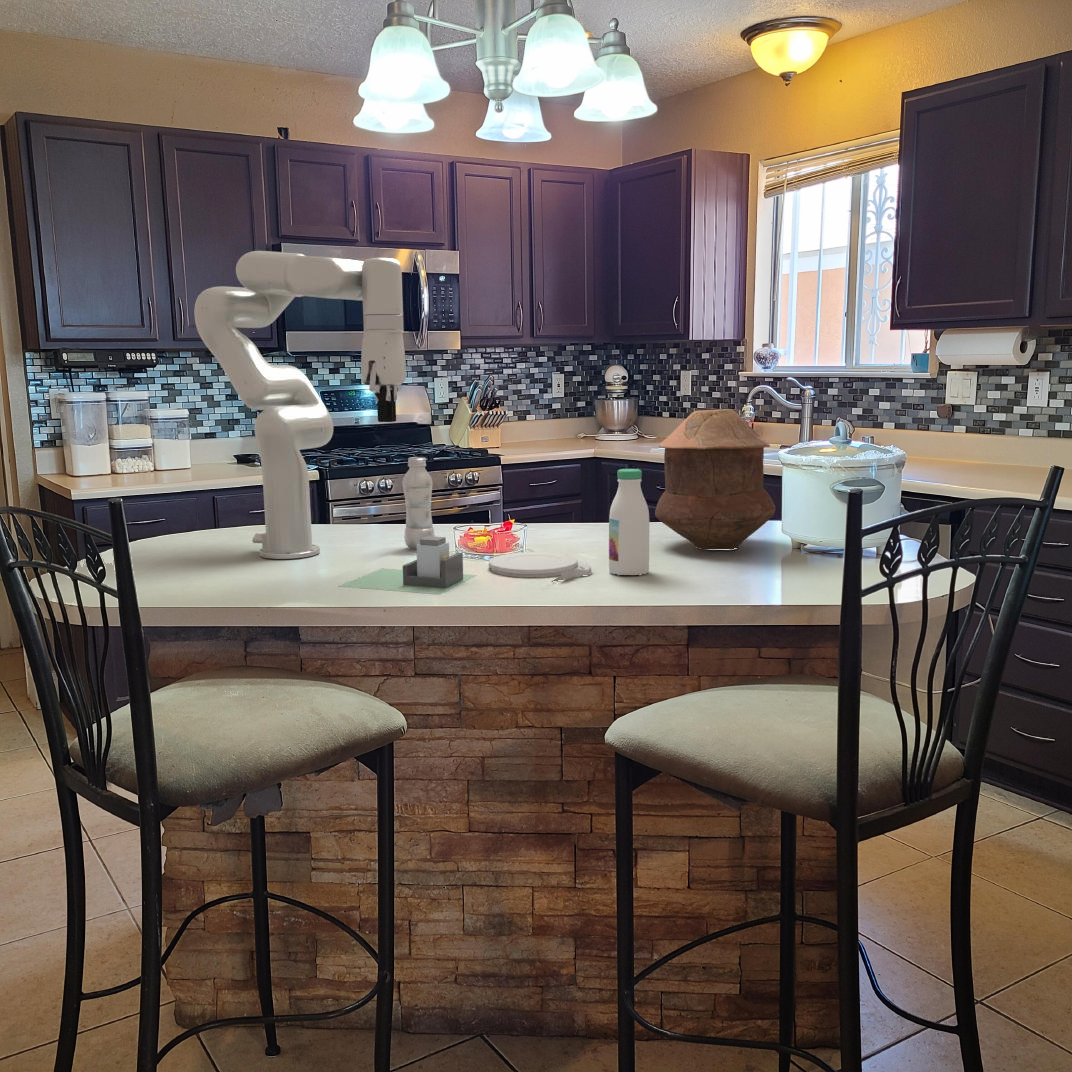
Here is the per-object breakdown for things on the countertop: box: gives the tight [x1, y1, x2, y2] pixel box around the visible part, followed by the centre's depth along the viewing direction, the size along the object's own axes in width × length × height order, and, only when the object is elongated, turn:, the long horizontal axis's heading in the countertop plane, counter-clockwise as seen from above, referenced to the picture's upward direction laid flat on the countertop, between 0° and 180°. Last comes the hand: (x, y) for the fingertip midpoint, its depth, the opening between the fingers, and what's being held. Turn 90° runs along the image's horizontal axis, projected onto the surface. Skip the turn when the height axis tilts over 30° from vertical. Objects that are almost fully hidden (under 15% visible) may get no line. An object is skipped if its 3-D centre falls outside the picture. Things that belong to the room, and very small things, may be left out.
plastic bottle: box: [401, 456, 436, 550], centre depth 216 cm, size 6×7×20 cm
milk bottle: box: [608, 468, 650, 576], centre depth 190 cm, size 8×8×20 cm
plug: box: [416, 536, 450, 578], centre depth 178 cm, size 5×4×8 cm
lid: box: [488, 551, 592, 583], centre depth 191 cm, size 17×20×3 cm
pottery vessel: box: [654, 408, 776, 550], centre depth 213 cm, size 26×26×30 cm
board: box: [337, 568, 477, 595], centre depth 181 cm, size 20×16×1 cm
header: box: [402, 552, 464, 588], centre depth 179 cm, size 8×7×5 cm
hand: (387, 421), depth 193 cm, fingers closed
